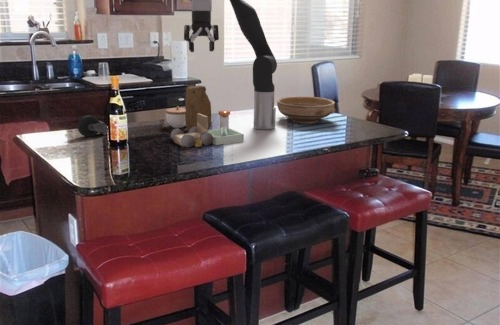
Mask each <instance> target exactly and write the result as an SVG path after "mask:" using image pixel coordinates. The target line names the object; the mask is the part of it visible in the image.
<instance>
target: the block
mask: <svg viewBox="0 0 500 325" xmlns="http://www.w3.org/2000/svg"><path fill="white" fill-rule="evenodd" d="M206 90H207V88H206V86H204V85H191V86H186V88H185V101H184V102H185V109H186V112H185V120H186V125H185V127H186V129H187V131H189V129H190V128H191V127H197V114H198V113H200V114H202V115H205V116H207V117H208V130H211V125H212V104H211V100H210V99H209V95H208V94H207V91H206Z"/></svg>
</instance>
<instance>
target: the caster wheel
mask: <svg viewBox="0 0 500 325" xmlns="http://www.w3.org/2000/svg"><path fill="white" fill-rule="evenodd" d="M107 127H108V126H107V125H106V123H105V121H104V122H103V121H102V120H99V119H98V118H97V117H95V116H93V115H90V114H87V115H84V116H81V118H79V120H78V122H77V130H78V133H79V134H80V135H82V136H83V137H85V138H93V137H96V136H97V134H99V133H100V134H99V135H101V134H103V135H104V136H106V135H107V133H108V132H109V129H108V128H107ZM103 135H102V136H103ZM92 136H93V137H92Z"/></svg>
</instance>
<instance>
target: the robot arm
mask: <svg viewBox="0 0 500 325" xmlns="http://www.w3.org/2000/svg"><path fill="white" fill-rule="evenodd" d="M229 2H230V5H231V7H232V10H233V13H234V15H235V18H236V20H237V21H236V22H238V23H237V24H238V26H239V28H240V30H241V33H242V35H243V36H244V37H245V39H246V40H247V42H248V43H249V44H250V46H251V48H252V49H253V51H254V55H255V59H254V61H253V63H252V86H253V90H254V91H253V92H254V93H253V129H255V130H260V131H261V130H272V129H276V116H277V115H276V113H277V112H276V110H277V109H276V107H275V84H274V83H273V74H274V73H275V72H276V70H277V68H278V63H277V62H278V61H277V60H276V57H275V56H274V53H273V52H272V49H271V48H270V45H269V43H268V41H267V37H266V36H265V32H264V30H263V27H262V24H261V21H260V19H259V16H258V13H257V10H256V9H255V8H254V7H253V6H252V5H250V4H249V3H248V2H247V1H245V0H229ZM211 9H212V4H211V0H191V25H189V24H185V25H183V28H184V29H183V40H184V41H185V42H188V50H189V52H191V53H195V42H194V41H195V40H196V39H197V37H206V38H207V40H208V41H209V43H208V44H209V50H208V51H209V52H214V51H215V42H217V41H219V39H220V38H219V37H220V36H219V34H220V32H219V26H218V25H217V24H213V25H212V24H211V23H212V22H211V21H212V10H211ZM191 30H192V33H191V34H190V32H191ZM211 30H212V33H211Z"/></svg>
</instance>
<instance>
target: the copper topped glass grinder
mask: <svg viewBox="0 0 500 325" xmlns="http://www.w3.org/2000/svg"><path fill="white" fill-rule="evenodd" d="M218 115H219V129H220V137H221V136H229V128H230V127H229V124H230V122H229V121H230V118H229V117H230V115H231V111H230V110H219V111H218Z"/></svg>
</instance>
